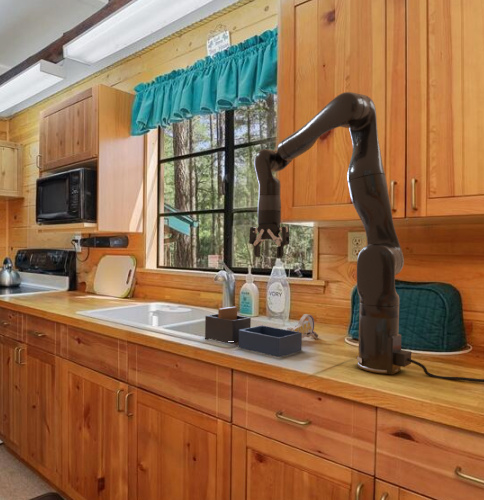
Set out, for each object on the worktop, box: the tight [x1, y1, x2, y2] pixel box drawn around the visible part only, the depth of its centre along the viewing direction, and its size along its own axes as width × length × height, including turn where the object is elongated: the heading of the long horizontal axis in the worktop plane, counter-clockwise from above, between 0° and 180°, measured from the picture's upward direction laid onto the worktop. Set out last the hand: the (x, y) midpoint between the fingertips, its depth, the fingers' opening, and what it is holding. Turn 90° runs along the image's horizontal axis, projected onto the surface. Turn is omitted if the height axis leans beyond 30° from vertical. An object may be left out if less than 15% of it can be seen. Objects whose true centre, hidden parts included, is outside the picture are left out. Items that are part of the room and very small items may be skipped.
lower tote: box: [238, 324, 303, 358], centre depth 133 cm, size 14×12×6 cm
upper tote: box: [204, 306, 252, 345], centre depth 146 cm, size 12×10×11 cm
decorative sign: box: [286, 313, 319, 340], centre depth 145 cm, size 18×1×10 cm, turn 129°
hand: (268, 257), depth 147 cm, fingers open, 8 cm apart
